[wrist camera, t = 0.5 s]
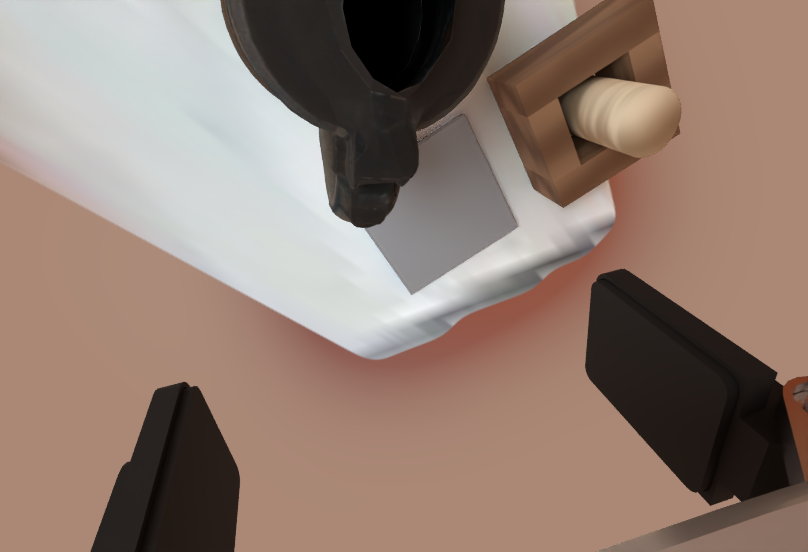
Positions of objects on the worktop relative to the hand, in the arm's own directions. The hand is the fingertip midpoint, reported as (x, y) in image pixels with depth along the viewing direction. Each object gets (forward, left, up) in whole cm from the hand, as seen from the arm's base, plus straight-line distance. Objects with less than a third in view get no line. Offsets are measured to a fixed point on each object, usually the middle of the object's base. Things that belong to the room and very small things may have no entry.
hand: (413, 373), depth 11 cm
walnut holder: (+12, +22, -35) cm, 44 cm away
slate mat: (+14, +5, -35) cm, 39 cm away
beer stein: (-5, +6, -36) cm, 36 cm away
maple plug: (+12, +22, -35) cm, 44 cm away
